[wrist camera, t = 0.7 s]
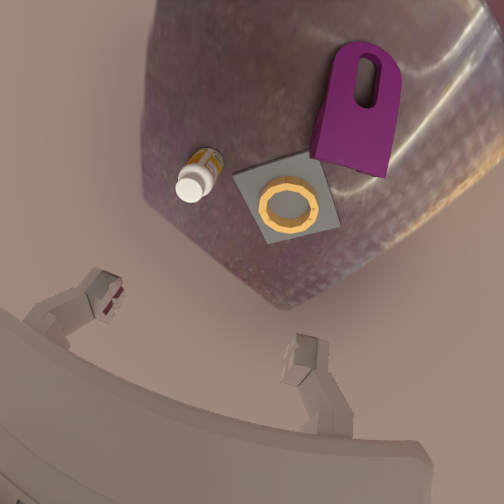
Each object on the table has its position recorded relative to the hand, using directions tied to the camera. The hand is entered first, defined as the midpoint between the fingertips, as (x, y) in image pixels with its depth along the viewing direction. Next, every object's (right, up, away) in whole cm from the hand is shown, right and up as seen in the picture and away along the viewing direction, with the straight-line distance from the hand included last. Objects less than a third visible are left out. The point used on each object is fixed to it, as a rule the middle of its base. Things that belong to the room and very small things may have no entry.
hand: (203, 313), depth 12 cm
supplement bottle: (-5, +18, +33) cm, 38 cm away
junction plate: (+8, +12, +35) cm, 38 cm away
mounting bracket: (+17, +24, +22) cm, 37 cm away
